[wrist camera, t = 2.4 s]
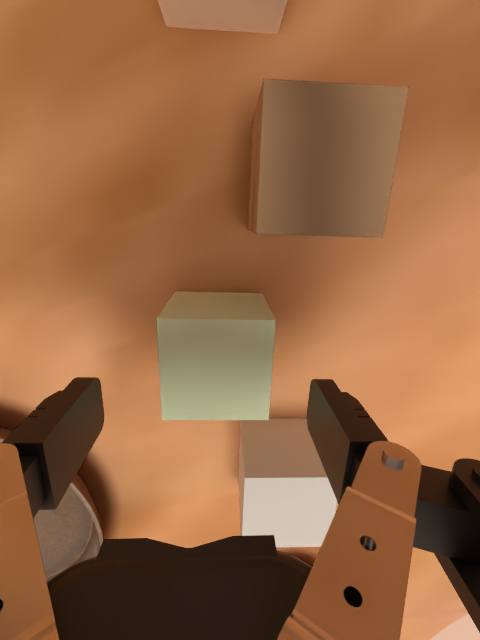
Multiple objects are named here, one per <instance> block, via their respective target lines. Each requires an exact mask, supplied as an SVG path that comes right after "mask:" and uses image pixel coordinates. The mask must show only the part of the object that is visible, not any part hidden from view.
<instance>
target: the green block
mask: <svg viewBox="0 0 480 640" xmlns="http://www.w3.org/2000/svg"><path fill="white" fill-rule="evenodd" d="M156 319H157V337H158V355H159V373H160V391H161V408H162V420H269V407H270V393H271V380H272V366H273V353H274V339H275V326H276V320H275V318H274V315H273V313H272V311H271V309H270V307H269V305H268V303H267V301H266V299H265V297H264V294H263V293H235V292H190V291H175V292H174V294H173V295H172V297H171V298H170V299H169V301H168V302H167V304H166V305H165V307H164V308H163V310H162V311H161V312H160V314H159V315H158V317H157V318H156Z"/></svg>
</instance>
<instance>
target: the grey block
mask: <svg viewBox="0 0 480 640" xmlns="http://www.w3.org/2000/svg"><path fill="white" fill-rule="evenodd" d="M238 483H239V506H240V528H241V536H253V535H274V538H275V544H276V547H321V546H322V543H323V541H324V539H325V536H326V534H327V532H328V529H329V527H330V525H331V522H332V520H333V518H334V515H335V510H336V504H337V499H336V497H335V495H334V492H333V490H332V487H331V485H330V482H329V480H328V477H327V475H326V472H325V470H324V467H323V465H322V462H321V460H320V458H319V455H318V453H317V450H316V448H315V445H314V443H313V440H312V438H311V435H310V433H309V430H308V426H307V418H269V420H241V421H240V446H239V471H238Z"/></svg>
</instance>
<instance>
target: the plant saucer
mask: <svg viewBox="0 0 480 640" xmlns="http://www.w3.org/2000/svg"><path fill="white" fill-rule="evenodd" d="M12 432H13V431H11V430H8V429H4V428H1V427H0V444H1V443H2V442H3V441H4V440H5V439H6V438H7V437H8V436H9V435H10V434H11V433H12ZM34 524H35V528H36V532H37V537H38V541H39V546H40V550H41V555H42V559H43V564H44V568H45V573H46V577H47V582H49V581H50V580H51V579H53V578H54V577H55V576H57V575H58V574H60V573H62V572H63V571H65V570H66V569H68V568H70V567H72V566H74V565H76V564H78V563H80V562H82V561H84V560H87V559H89V558H92V557H95V556H97V555H98V553H99V550H100V547H101V545H102V542H103V532H102V527H101V523H100V519H99V516H98V513H97V509H96V507H95V504H94V502H93V500H92V498H91V495H90V493H89V491H88V489H87V487H86V486H85V484H84V482H83V481H82V479H81V478H80V477H79V475H78V474H76V475H75V477H74V479H73V481H72V482H71V484H70V486H69V487H68V489H67V491H66V493H65V494H64V496H63V498H62V500H61V501H60V503H59V505H58V507H57V508H56V510H39V511H38V513H37V514H36V516H35V517H34Z"/></svg>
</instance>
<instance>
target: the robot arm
mask: <svg viewBox="0 0 480 640" xmlns="http://www.w3.org/2000/svg"><path fill="white" fill-rule="evenodd" d="M103 423H104V408H103V400H102V392H101V384H100V380H99V378H90V377H77V378H74V379H73V380H72V382H71V383H70V384H69V385H68V386H67V387H66V388H65V389H64V390H63V391H58V392H56V393H54V394H53V395H51V396H49V397H47V398H46V399H44V400H43V401H42V402H41V403H40V404H39V405H38V406H37V407H36V410H33V411H32V412H31V413H30V414H29V415H28V418H26V419H25V420H24V421H23V422H22V423H21V424H20V425H19V426H18V427H17V428H16V429H15V430H14V431H13V432H12V433H11V434H10V435H9V436H8V437H7V438H6V439H5V440H4V441H3V442H2V443H1V444H0V640H400V634H401V626H402V619H403V612H404V605H405V598H406V591H407V584H408V577H409V570H410V563H411V556H412V549H413V547H416V548H419V549H423V550H426V551H429V552H433V553H434V554H435V556H436V557H437V559H438V561H439V562H440V564H441V566H442V568H443V569H444V571H445V573H446V575H447V576H448V578H449V580H450V582H451V583H452V585H453V587H454V589H455V590H456V592H457V594H458V596H459V597H460V599H461V601H462V602H463V604H464V606H465V608H466V609H467V611H468V613H469V615H470V616H471V618H472V620H473V622H474V623H475V625H476V627H477V628H478V630H479V632H480V461H478V460H474V459H459V460H457V461H456V462H455V463H454V465H453V468H452V471H451V472H450V471H445V470H441V469H436V468H432V467H427V466H424V465H421V463H420V461H419V459H418V458H417V457H416V456H415V455H414V454H413V453H412V452H411V451H410V450H408V449H406V448H405V447H403V446H401V445H399V444H396V443H393V442H389V441H388V440H387V438H386V437H385V436H384V434H383V433H382V432H381V430H380V429H379V428H378V426H377V425H376V424H375V422H374V421H373V420H372V418H370V416H369V414H368V413H367V412H366V411H364V408H363V406H362V405H361V404H360V402H359V401H358V400H357V399H356V398H354V397H353V396H351V395H350V394H348V393H347V392H341V391H340V389H339V388H338V387H337V385H336V384H335V382H334V381H333V380H332V379H313V380H312V381H311V384H310V392H309V401H308V409H307V426H308V430H309V433H310V435H311V438H312V440H313V443H314V445H315V448H316V450H317V453H318V455H319V458H320V460H321V462H322V465H323V467H324V470H325V472H326V475H327V477H328V480H329V482H330V485H331V487H332V490H333V492H334V495H335V497H336V499H337V502H338V504H339V506H338V508H337V511H336V513H335V515H334V518H333V520H332V522H331V525H330V527H329V529H328V532H327V534H326V536H325V539H324V541H323V543H322V546H321V548H320V550H319V553H318V555H317V557H316V560H315V562H314V564H313V567H311V566H309V565H308V564H306V563H305V562H303V561H302V560H300V559H298V558H296V557H294V556H292V555H289V554H287V553H284V552H281V551H277V550H276V544H275V538H274V535H253V536H232V537H228V538H225V539H221V540H218V541H214V542H211V543H207V544H204V545H201V546H197V547H194V548H184V547H180V546H176V545H172V544H168V543H164V542H160V541H156V540H152V539H148V538H136V539H103V542H102V545H101V547H100V550H99V553H98V555H97V556H95V557H92V558H89V559H87V560H84V561H82V562H80V563H78V564H76V565H74V566H72V567H70V568H68V569H66V570H65V571H63V572H62V573H60V574H58V575H57V576H55V577H54V578H53V579H51V580H50V581H49V582H47V577H46V573H45V568H44V564H43V559H42V555H41V550H40V546H39V541H38V537H37V532H36V528H35V524H34V517H35V516H36V514H37V513H38V511H39V510H56V508H57V507H58V505H59V503H60V501H61V500H62V498H63V496H64V494H65V493H66V491H67V489H68V487H69V486H70V484H71V482H72V481H73V479H74V477H75V475H76V474H77V472H78V470H79V468H80V467H81V465H82V463H83V461H84V460H85V458H86V456H87V455H88V453H89V451H90V449H91V448H92V446H93V444H94V442H95V441H96V439H97V437H98V435H99V434H100V432H101V430H102V427H103Z"/></svg>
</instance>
